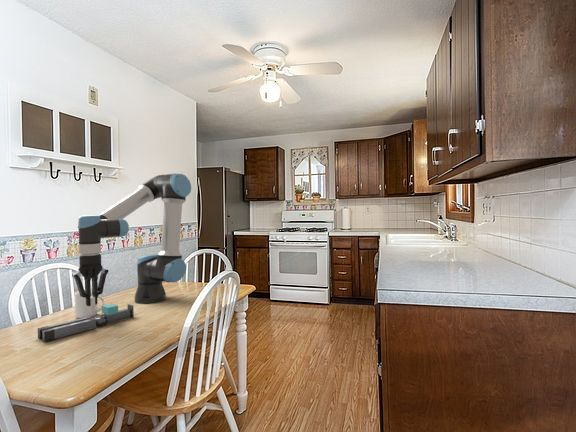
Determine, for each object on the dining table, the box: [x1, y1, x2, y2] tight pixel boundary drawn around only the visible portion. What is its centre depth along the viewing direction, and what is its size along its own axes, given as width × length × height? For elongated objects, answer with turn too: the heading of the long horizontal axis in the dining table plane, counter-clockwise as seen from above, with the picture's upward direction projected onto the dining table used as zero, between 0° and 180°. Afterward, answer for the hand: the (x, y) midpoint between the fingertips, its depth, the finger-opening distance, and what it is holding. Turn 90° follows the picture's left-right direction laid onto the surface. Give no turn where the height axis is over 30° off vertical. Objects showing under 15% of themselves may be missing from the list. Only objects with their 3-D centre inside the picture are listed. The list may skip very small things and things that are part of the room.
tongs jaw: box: [41, 317, 97, 343], centre depth 128 cm, size 17×3×4 cm, turn 141°
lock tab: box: [101, 302, 119, 315], centre depth 141 cm, size 4×6×3 cm, turn 51°
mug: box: [74, 288, 105, 319], centre depth 151 cm, size 9×12×11 cm
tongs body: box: [37, 303, 135, 340], centre depth 136 cm, size 33×6×5 cm, turn 141°
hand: (92, 313), depth 136 cm, fingers closed
